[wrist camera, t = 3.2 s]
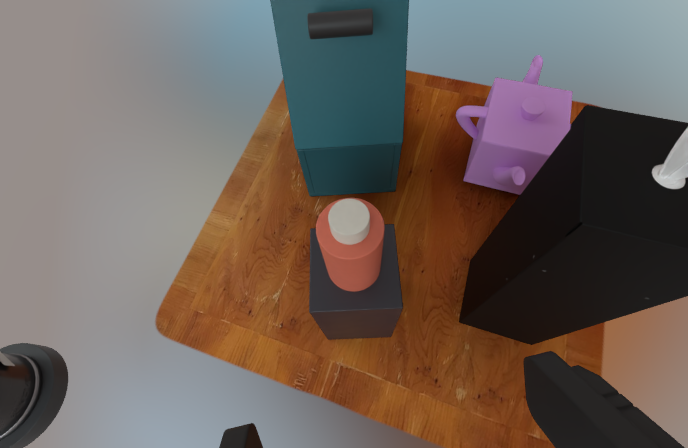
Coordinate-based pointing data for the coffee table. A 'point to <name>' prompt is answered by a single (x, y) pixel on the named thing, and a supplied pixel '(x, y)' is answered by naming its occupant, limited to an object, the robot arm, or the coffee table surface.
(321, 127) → the case lid
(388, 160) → the wipes case
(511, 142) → the teapot
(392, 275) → the stand
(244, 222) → the coffee table surface
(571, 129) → the tissue box
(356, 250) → the lotion bottle
